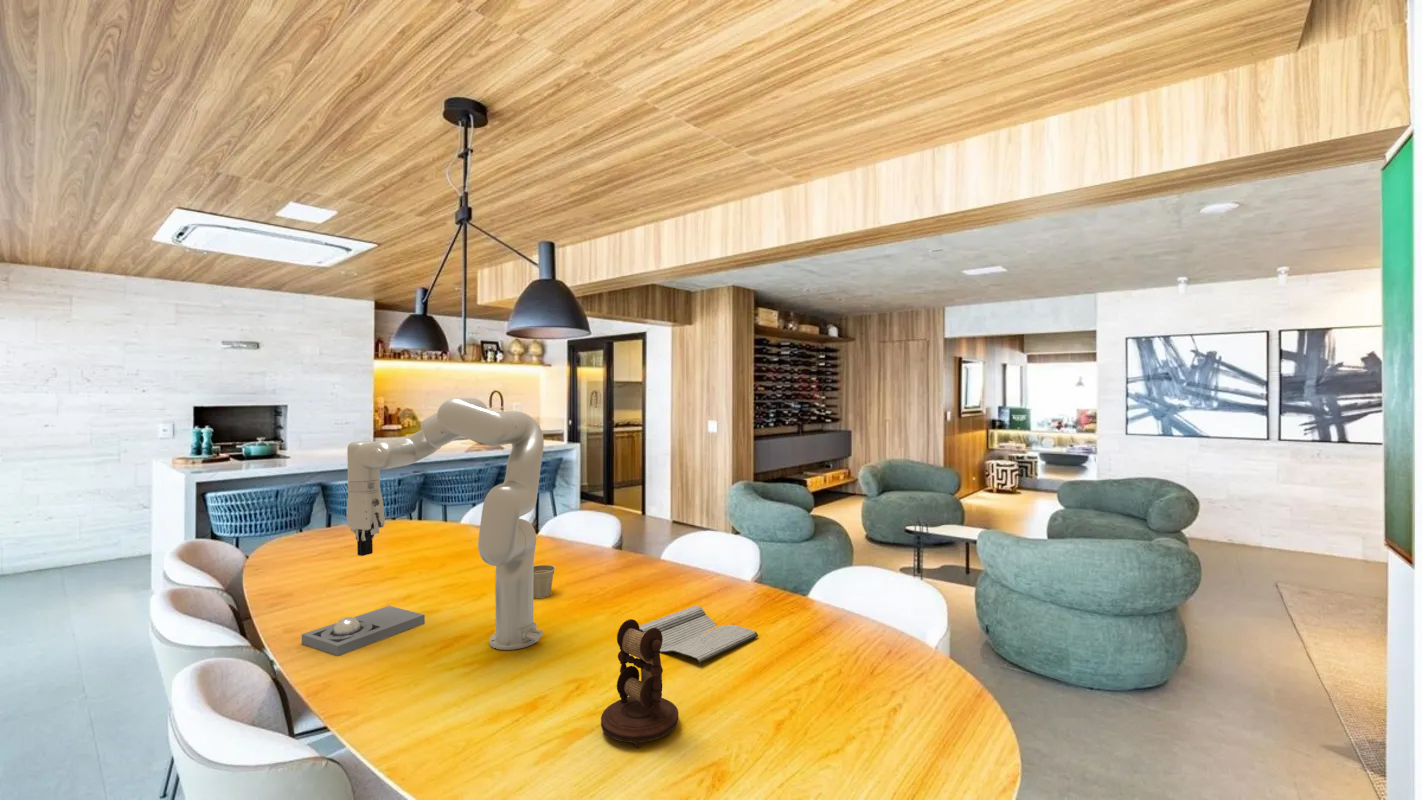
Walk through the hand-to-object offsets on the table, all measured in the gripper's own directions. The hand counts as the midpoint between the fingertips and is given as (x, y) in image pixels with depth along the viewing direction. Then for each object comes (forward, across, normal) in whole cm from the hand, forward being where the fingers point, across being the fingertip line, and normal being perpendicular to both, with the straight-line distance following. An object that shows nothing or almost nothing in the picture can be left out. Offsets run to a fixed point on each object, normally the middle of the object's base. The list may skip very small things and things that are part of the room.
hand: (365, 554), depth 162 cm
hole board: (+21, 0, 0) cm, 21 cm away
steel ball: (+18, 0, +5) cm, 19 cm away
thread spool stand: (+22, -93, +5) cm, 95 cm away
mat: (+23, -82, -36) cm, 93 cm away
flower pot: (+22, -20, -45) cm, 54 cm away
